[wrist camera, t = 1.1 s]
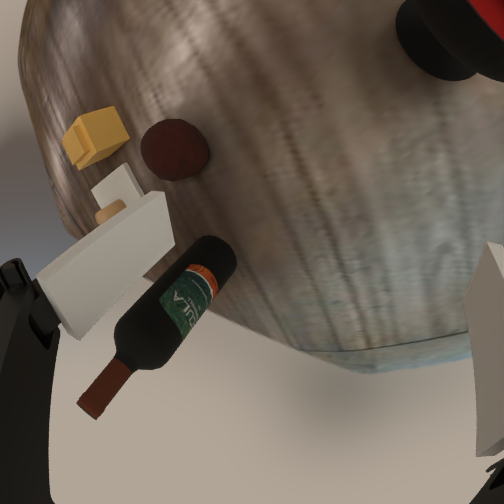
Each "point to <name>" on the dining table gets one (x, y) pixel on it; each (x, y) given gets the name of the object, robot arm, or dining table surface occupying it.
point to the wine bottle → (162, 318)
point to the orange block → (94, 137)
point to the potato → (174, 149)
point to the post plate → (116, 193)
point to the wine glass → (454, 37)
